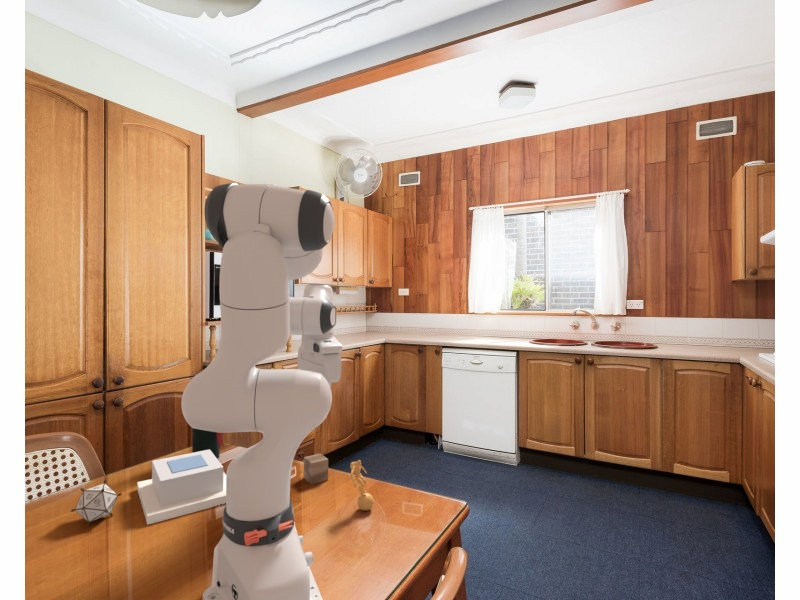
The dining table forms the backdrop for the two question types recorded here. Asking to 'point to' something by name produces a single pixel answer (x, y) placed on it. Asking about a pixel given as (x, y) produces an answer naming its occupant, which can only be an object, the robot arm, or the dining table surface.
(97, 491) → the game die
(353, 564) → the dining table surface
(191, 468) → the pedestal
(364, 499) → the figurine
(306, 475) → the walnut block
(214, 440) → the wine bottle
